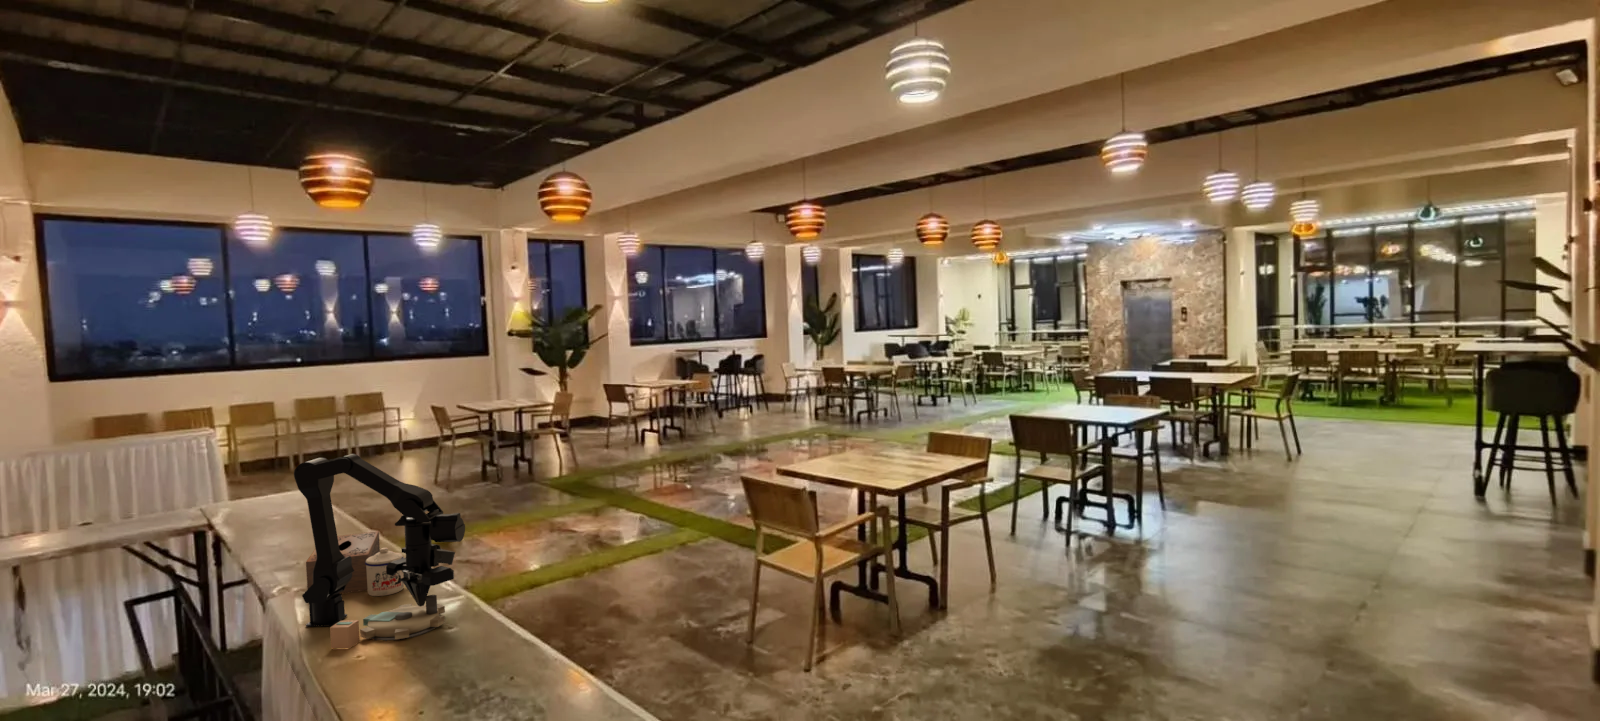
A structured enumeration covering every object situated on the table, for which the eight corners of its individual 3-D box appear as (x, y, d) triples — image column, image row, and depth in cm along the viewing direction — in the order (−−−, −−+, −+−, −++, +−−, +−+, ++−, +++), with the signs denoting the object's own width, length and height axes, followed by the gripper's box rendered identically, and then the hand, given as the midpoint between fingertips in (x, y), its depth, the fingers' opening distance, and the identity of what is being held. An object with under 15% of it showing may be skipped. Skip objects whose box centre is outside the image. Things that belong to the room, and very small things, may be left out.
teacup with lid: (369, 599, 202) (367, 555, 201) (364, 590, 209) (361, 547, 209) (419, 589, 209) (417, 546, 209) (412, 580, 216) (410, 539, 216)
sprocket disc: (365, 617, 188) (364, 594, 188) (445, 604, 195) (443, 582, 195) (357, 645, 171) (356, 621, 171) (444, 631, 178) (443, 607, 178)
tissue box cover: (370, 590, 210) (368, 554, 209) (308, 599, 204) (305, 562, 204) (380, 563, 233) (378, 531, 233) (325, 570, 228) (323, 537, 227)
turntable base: (350, 641, 175) (350, 639, 175) (389, 614, 191) (389, 612, 191) (421, 640, 175) (420, 638, 175) (453, 613, 191) (453, 611, 191)
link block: (331, 649, 171) (330, 626, 171) (342, 642, 175) (340, 619, 175) (349, 649, 171) (347, 626, 171) (359, 641, 175) (358, 619, 175)
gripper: (472, 539, 189) (474, 601, 190) (425, 529, 199) (428, 589, 200) (430, 551, 180) (433, 617, 180) (383, 540, 189) (386, 603, 190)
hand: (421, 605), depth 188 cm, fingers closed
